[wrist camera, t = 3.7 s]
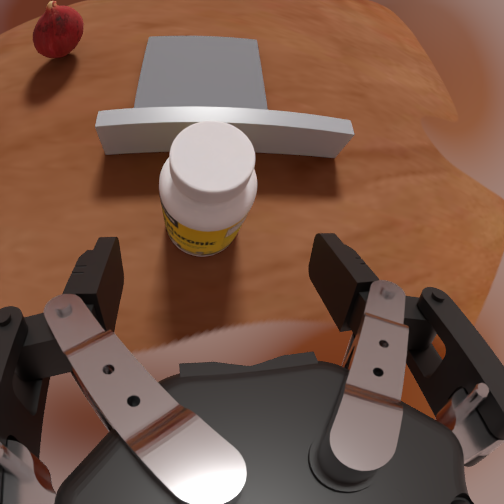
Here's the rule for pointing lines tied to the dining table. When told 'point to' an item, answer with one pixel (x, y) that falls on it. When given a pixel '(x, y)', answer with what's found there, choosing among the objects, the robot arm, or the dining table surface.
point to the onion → (57, 31)
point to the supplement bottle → (207, 187)
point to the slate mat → (201, 73)
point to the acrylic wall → (245, 119)
